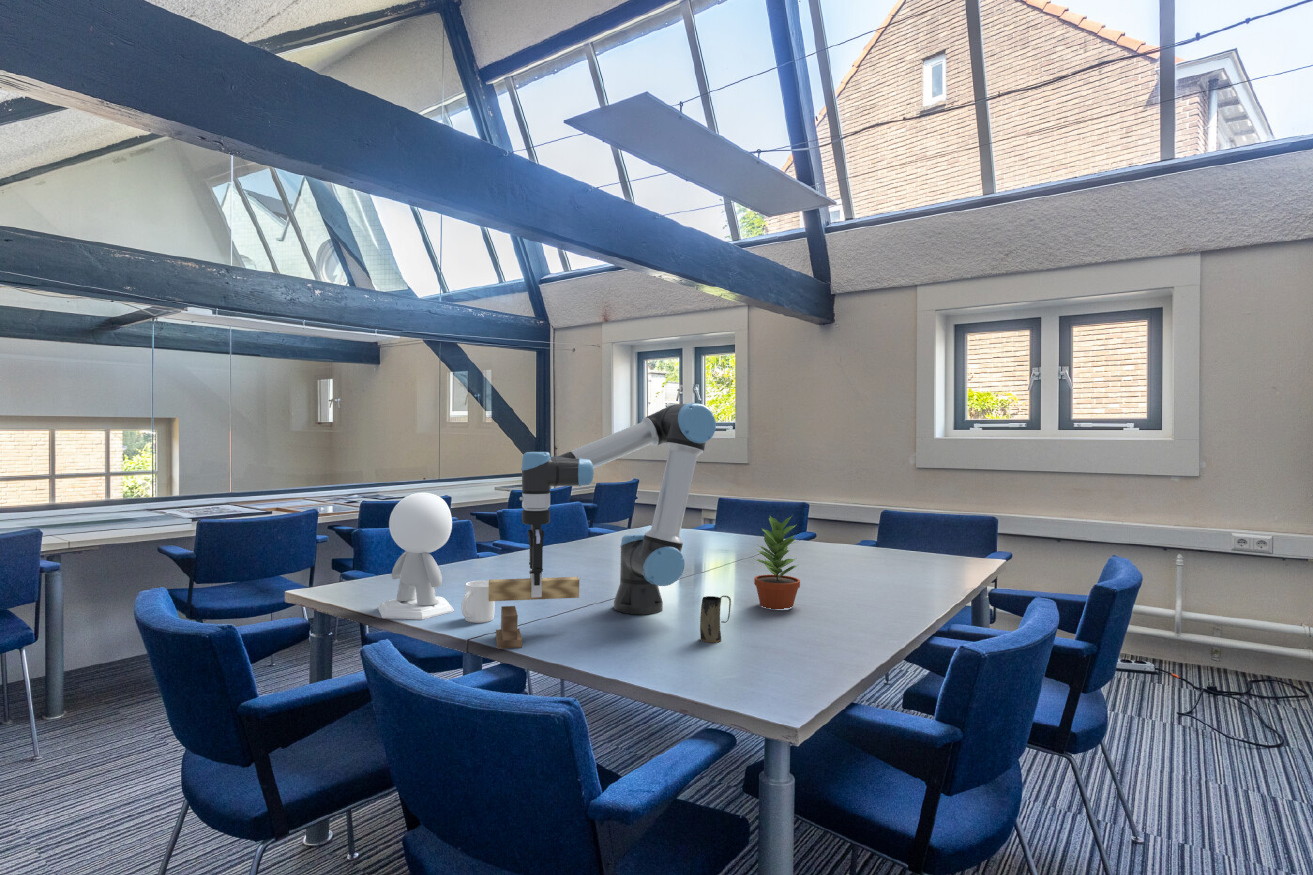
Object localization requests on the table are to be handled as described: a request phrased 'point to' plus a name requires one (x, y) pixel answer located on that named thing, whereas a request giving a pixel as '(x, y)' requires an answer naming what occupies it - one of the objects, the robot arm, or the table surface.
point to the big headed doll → (418, 557)
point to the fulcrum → (508, 629)
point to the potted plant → (777, 569)
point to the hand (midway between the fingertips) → (535, 595)
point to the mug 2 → (711, 619)
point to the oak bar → (522, 589)
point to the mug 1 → (477, 602)
